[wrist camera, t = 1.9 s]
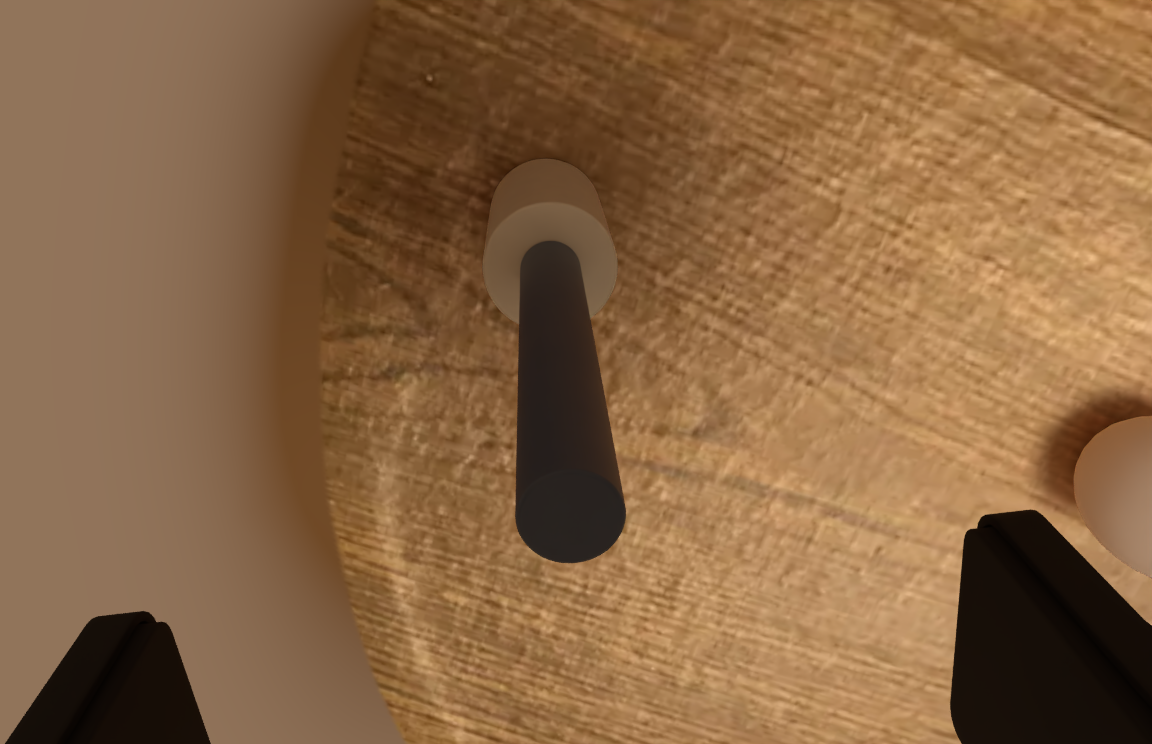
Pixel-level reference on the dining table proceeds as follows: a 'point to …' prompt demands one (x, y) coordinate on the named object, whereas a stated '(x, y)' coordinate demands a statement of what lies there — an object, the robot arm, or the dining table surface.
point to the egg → (1119, 490)
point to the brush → (557, 355)
